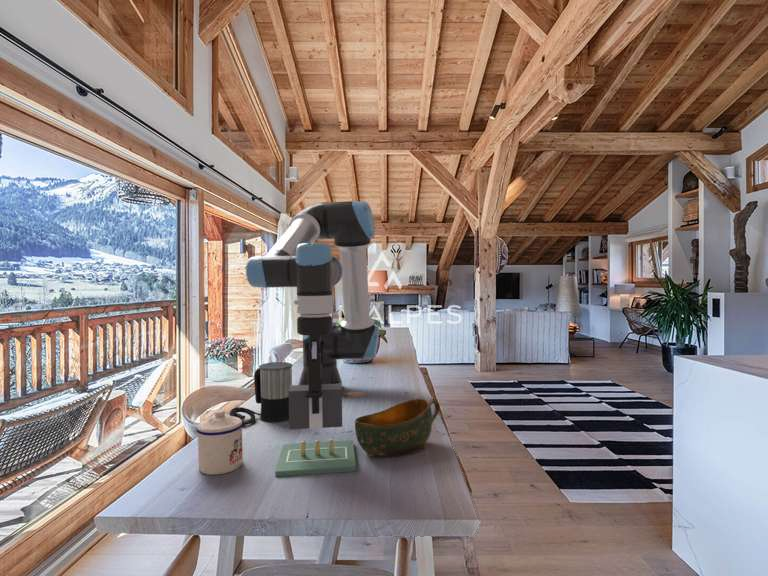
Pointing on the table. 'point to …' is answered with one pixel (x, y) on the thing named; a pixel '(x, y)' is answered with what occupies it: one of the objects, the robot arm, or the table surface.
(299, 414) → the block
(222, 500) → the table surface
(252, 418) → the milk frother
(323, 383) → the robot arm
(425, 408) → the green gold gravy boat
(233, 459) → the teacup with lid
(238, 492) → the table surface
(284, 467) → the pin board
